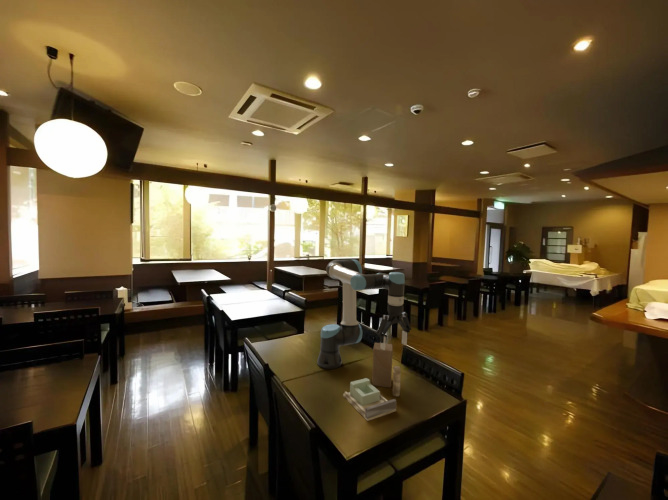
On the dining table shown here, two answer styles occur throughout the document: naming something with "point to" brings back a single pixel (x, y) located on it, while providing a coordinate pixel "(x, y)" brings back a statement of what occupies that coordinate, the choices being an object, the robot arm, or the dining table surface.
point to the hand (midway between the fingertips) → (393, 346)
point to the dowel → (396, 381)
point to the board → (372, 407)
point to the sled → (364, 391)
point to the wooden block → (382, 365)
